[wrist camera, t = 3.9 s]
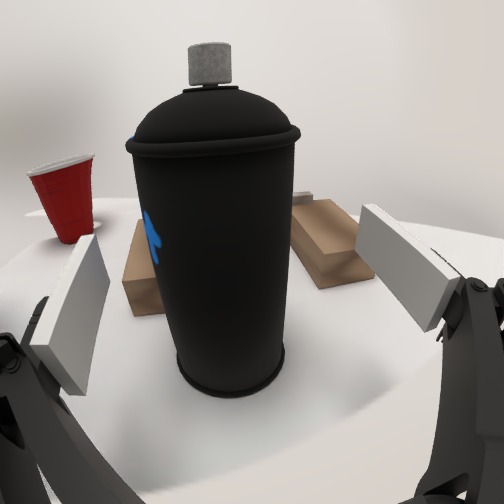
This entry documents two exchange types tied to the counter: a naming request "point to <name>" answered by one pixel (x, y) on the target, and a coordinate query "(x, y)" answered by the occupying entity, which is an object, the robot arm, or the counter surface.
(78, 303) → the robot arm
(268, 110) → the aerosol can
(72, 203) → the plastic cup
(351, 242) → the cutout stand
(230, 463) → the counter surface
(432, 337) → the counter surface
